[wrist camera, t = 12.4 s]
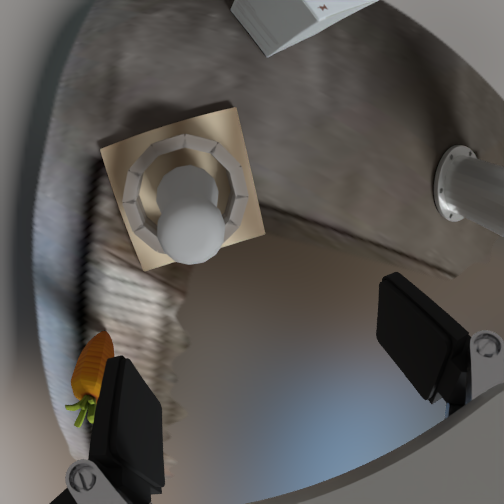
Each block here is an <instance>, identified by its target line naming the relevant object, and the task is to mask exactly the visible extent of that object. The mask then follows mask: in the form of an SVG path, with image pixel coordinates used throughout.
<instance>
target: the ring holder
mask: <svg viewBox="0 0 504 504" xmlns="http://www.w3.org/2000/svg"><path fill="white" fill-rule="evenodd" d="M100 151H101V154H102V158H103V161H104V164H105V168H106V171H107V174H108V177H109V180H110V183H111V186H112V189H113V192H114V195H115V198H116V201H117V204H118V206H119V209H120V212H121V215H122V217H123V220H124V223H125V225H126V228H127V231H128V233H129V236H130V238H131V241H132V243H133V246H134V248H135V251H136V253H137V256H138V258H139V261H140V263H141V265H142V268H143V270H144V271H147V270H150V269H154V268H157V267H160V266H163V265H166V264H169V263H173V262H176V261H174V260H173V259H172V258H171V257H169V256H168V255H167V254H166V253H164V251H163V249H162V247H161V245H160V243H159V241H158V238H157V225H158V220H159V218H160V216H161V212H160V209H159V207H158V205H157V202H156V198H157V188H158V186H159V184H160V182H161V180H162V178H163V176H164V175H165V174H167V173H168V172H170V171H171V170H173V169H174V168H176V167H181V166H186V165H192V166H196V167H199V168H202V169H204V170H205V171H206V172H207V173H209V174H210V175H211V176H212V177H213V178H214V180H215V183H216V186H217V188H218V191H219V192H218V202H217V208H219V210H220V211H221V214H222V217H223V220H224V223H225V233H224V242H223V244H222V246H221V247H224V246H228V245H231V244H234V243H238V242H241V241H244V240H247V239H251V238H254V237H257V236H261V235H264V234H265V231H264V226H263V222H262V217H261V213H260V208H259V204H258V199H257V195H256V190H255V186H254V182H253V177H252V173H251V168H250V164H249V160H248V155H247V151H246V147H245V143H244V138H243V134H242V130H241V126H240V121H239V117H238V113H237V109H236V107H234V108H230V109H225V110H221V111H217V112H213V113H209V114H205V115H201V116H197V117H194V118H190V119H186V120H183V121H179V122H176V123H173V124H169V125H166V126H163V127H160V128H157V129H154V130H151V131H148V132H145V133H142V134H139V135H136V136H133V137H131V138H128V139H125V140H122V141H120V142H117V143H114V144H112V145H109V146H107V147H104V148H102V149H100ZM221 247H220V248H221Z"/></svg>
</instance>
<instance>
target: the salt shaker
mask: <svg viewBox="0 0 504 504" xmlns="http://www.w3.org/2000/svg"><path fill="white" fill-rule="evenodd" d="M218 192H219V191H218V188H217V186H216V183H215V180H214V178H213V177H212V176H211V175H210V174H209V173H207V172H206V171H205V170H204V169H202V168H199V167H196V166H192V165H186V166H181V167H176V168H174V169H173V170H171V171H170V172H168V173H167V174H165V175H164V176H163V178H162V180H161V182H160V184H159V186H158V188H157V198H156V202H157V205H158V207H159V209H160V212H161V216H160V218H159V220H158V225H157V238H158V241H159V243H160V245H161V247H162V249H163V251H164V253H166V254H167V255H168V256H169V257H171V258H172V259H173V260H174V261H176V262H180V263H184V264H189V265H191V264H197V263H203V262H205V261H207V260H208V259H209V258H211V257H213V256H214V255H216V253H217V252H218V250H219V249H220V247H221V246H222V244H223V242H224V233H225V223H224V220H223V217H222V214H221V211H220V210H219V208H217V202H218Z"/></svg>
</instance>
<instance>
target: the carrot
mask: <svg viewBox="0 0 504 504" xmlns="http://www.w3.org/2000/svg"><path fill="white" fill-rule="evenodd" d="M112 357H114V347H113V343H112V339H111V337H110V335H109V334H108V333H107V332H106V331H102V332H100V333H99V334H97V335H96V336H94V337H93V338H92V339H91V340H90V341H89V342H88V343H87V345H86V346H85V348H84V349H83V351H82V353H81V355H80V356H79V359H78V361H77V364H76V367H75V369H74V373H73V376H72V379H71V386H72V389H73V393H74V396H75V397H76V398H77V399H79V400H80V401H79V402H78V403H76V404H73V405H65V408H66V409H67V410H70V411H76V410H78V409H79V408H81V411H80V413H79V415H78V417H77V419H76V421H75V424H74V425H75V426H76V427H80V426H81V425H82V422H83V420H84V417H85V414H86V412H87V409H88V411H89V412H88V417H87V418H88V420H89V422H90V423H92V424H93V422H94V416H95V410H96V404H97V400H98V397H99V394H100V389H101V384H102V379H103V374H104V370H105V365H106V361H107V359H108V358H112Z"/></svg>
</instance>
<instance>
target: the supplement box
mask: <svg viewBox="0 0 504 504" xmlns="http://www.w3.org/2000/svg"><path fill="white" fill-rule="evenodd" d="M377 1H379V0H234V2H233V5H232V7H231V9H230V10H231V12H232V13H233V14H234V15H235V17H236V18H237V19H238V20H239V22H240V23H241V24H242V25H243V27H244V28H245V29H246V30H247V32H248V33H249V34H250V36H251V37H252V38H253V39H254V41H255V42H256V43H257V45H258V46H259V47H260V49H261V50H262V51H263V53H264V54H265V56H266V57H269V56H271V55H273V54H275V53H277V52H279V51H281V50H283V49H285V48H287V47H290V46H292V45H294V44H296V43H298V42H300V41H302V40H304V39H307V38H309V37H311V36H313V35H315V34H317V33H319V32H320V31H322V30H324V29H325V28H327V27H329V26H331V25H332V24H334V23H336V22H338V21H340V20H341V19H343V18H345V17H347V16H349V15H351V14H353V13H355V12H357V11H359V10H361V9H363V8H364V7H366V6H369V5H371V4H373V3H375V2H377Z"/></svg>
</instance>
